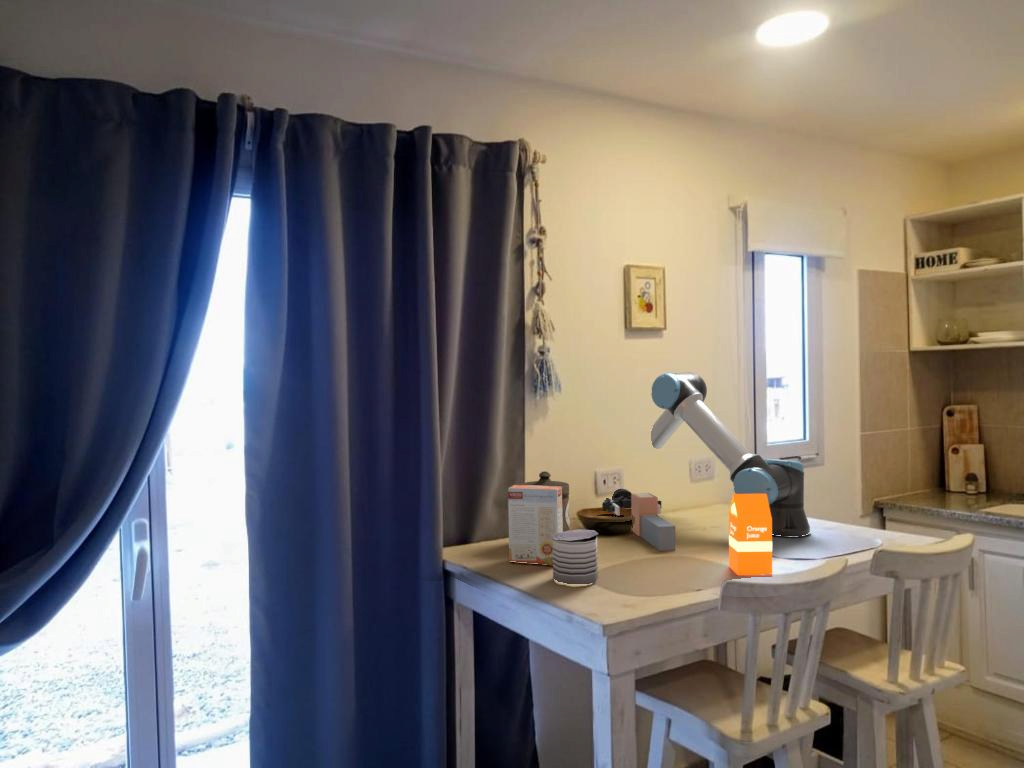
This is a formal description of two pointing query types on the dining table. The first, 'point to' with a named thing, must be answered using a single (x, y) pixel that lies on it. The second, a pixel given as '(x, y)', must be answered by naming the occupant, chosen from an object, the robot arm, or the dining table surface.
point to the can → (575, 557)
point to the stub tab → (643, 508)
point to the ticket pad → (658, 532)
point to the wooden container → (546, 481)
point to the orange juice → (750, 535)
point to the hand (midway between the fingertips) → (639, 510)
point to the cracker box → (534, 522)
